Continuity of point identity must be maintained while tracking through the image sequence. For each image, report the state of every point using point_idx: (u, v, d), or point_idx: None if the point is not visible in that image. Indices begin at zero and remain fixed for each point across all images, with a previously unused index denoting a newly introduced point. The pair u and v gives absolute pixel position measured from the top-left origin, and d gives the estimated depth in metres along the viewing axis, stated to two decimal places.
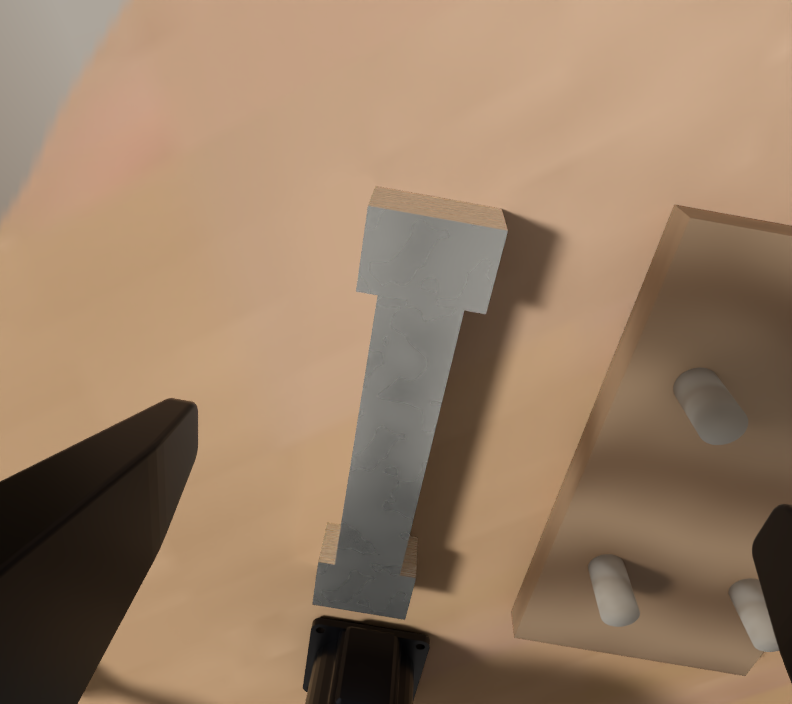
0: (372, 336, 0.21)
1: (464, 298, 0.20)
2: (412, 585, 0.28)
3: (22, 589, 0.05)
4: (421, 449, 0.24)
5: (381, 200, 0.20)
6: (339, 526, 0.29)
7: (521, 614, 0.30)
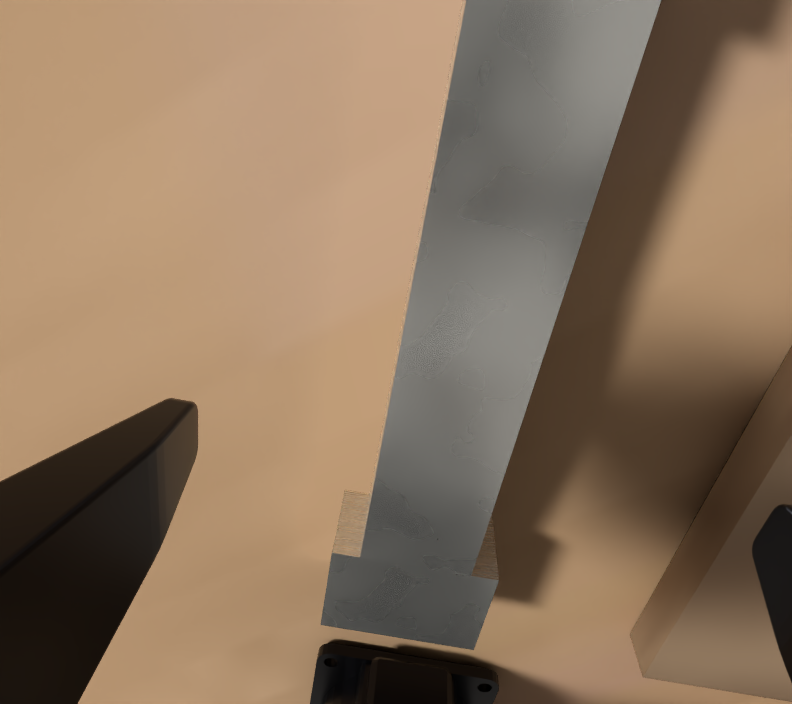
0: (457, 62, 0.10)
1: None
2: (491, 593, 0.16)
3: (22, 589, 0.05)
4: (534, 331, 0.12)
5: None
6: (364, 496, 0.18)
7: (658, 640, 0.18)
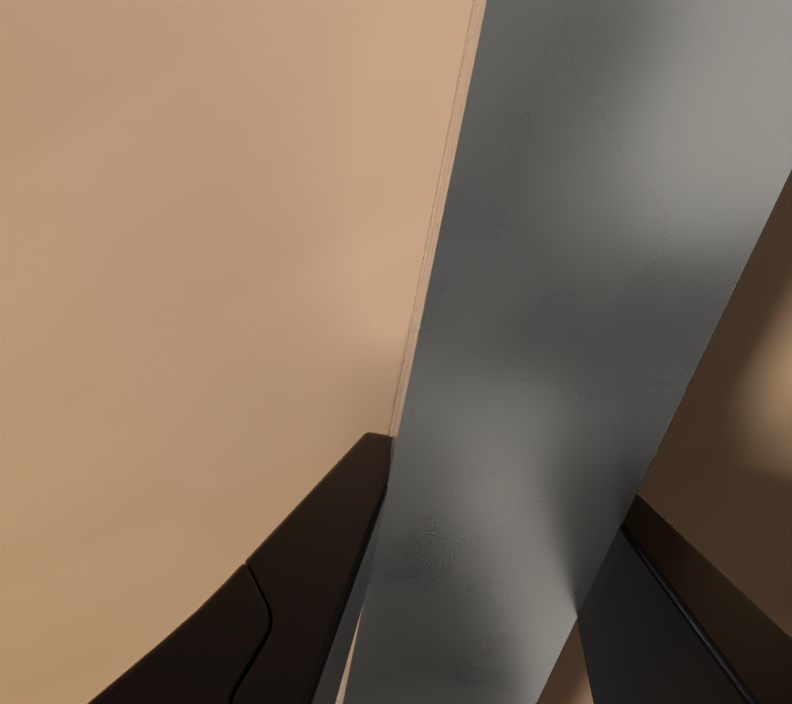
0: (468, 114, 0.05)
1: None
2: None
3: (338, 641, 0.06)
4: (589, 532, 0.08)
5: None
6: None
7: None
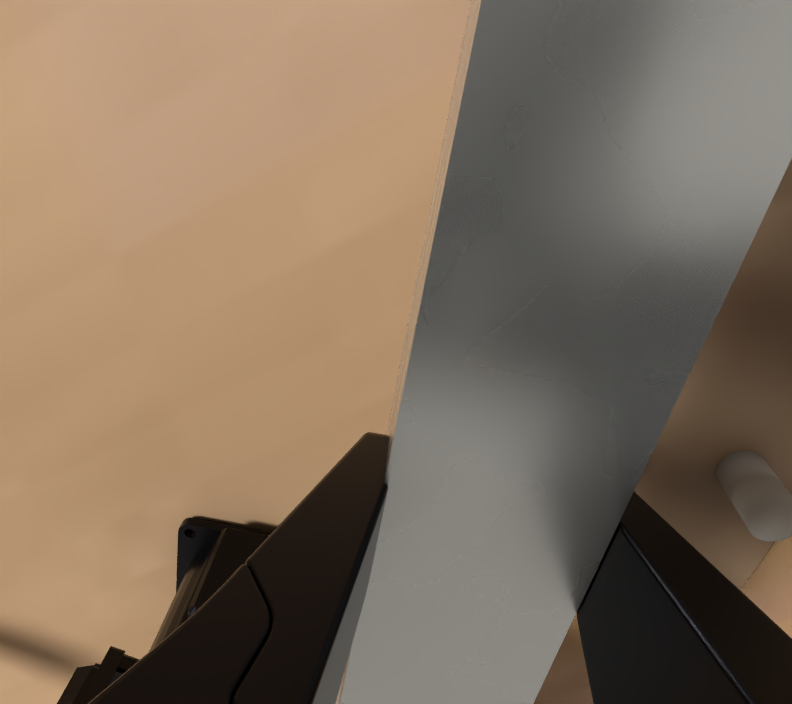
0: (465, 107, 0.05)
1: None
2: None
3: (339, 641, 0.06)
4: (587, 528, 0.08)
5: None
6: None
7: None
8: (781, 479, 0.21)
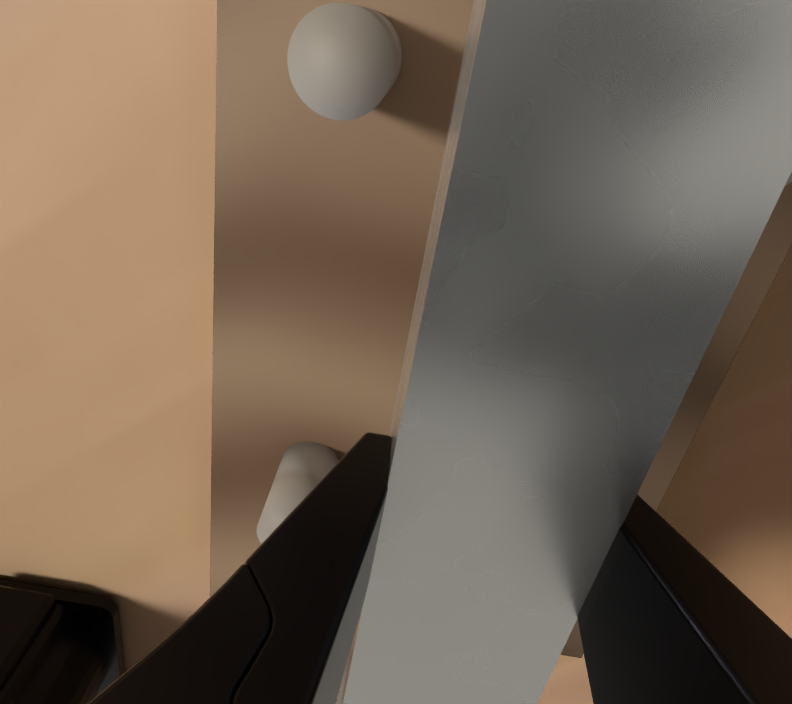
0: (471, 104, 0.05)
1: None
2: None
3: (338, 641, 0.06)
4: (592, 527, 0.08)
5: None
6: None
7: (213, 557, 0.18)
8: None
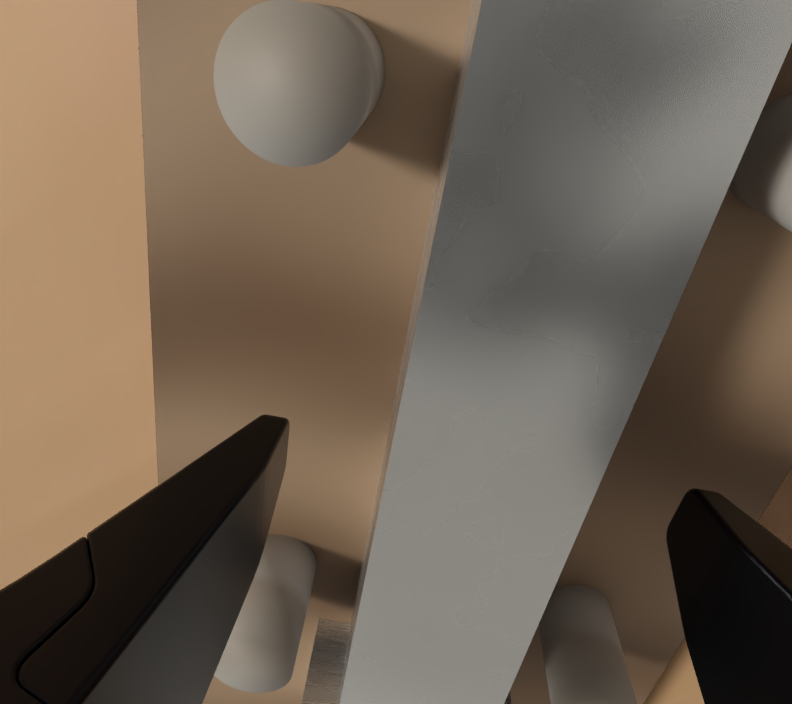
0: (467, 92, 0.06)
1: None
2: None
3: (172, 614, 0.05)
4: (576, 477, 0.08)
5: None
6: (343, 630, 0.14)
7: None
8: (636, 622, 0.13)
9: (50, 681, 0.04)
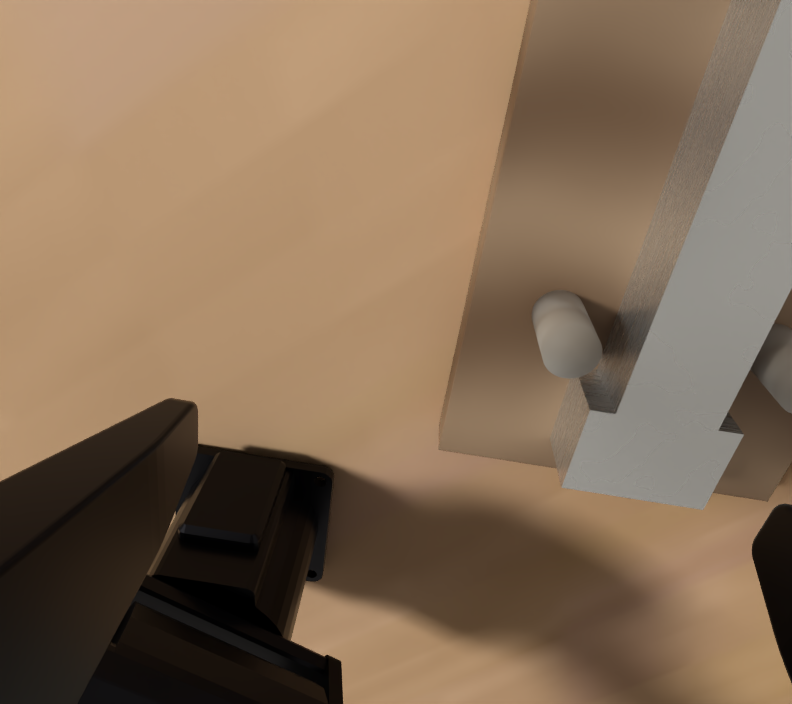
0: None
1: None
2: (734, 448, 0.18)
3: (22, 589, 0.05)
4: None
5: None
6: (594, 371, 0.19)
7: (446, 412, 0.21)
8: None
9: None
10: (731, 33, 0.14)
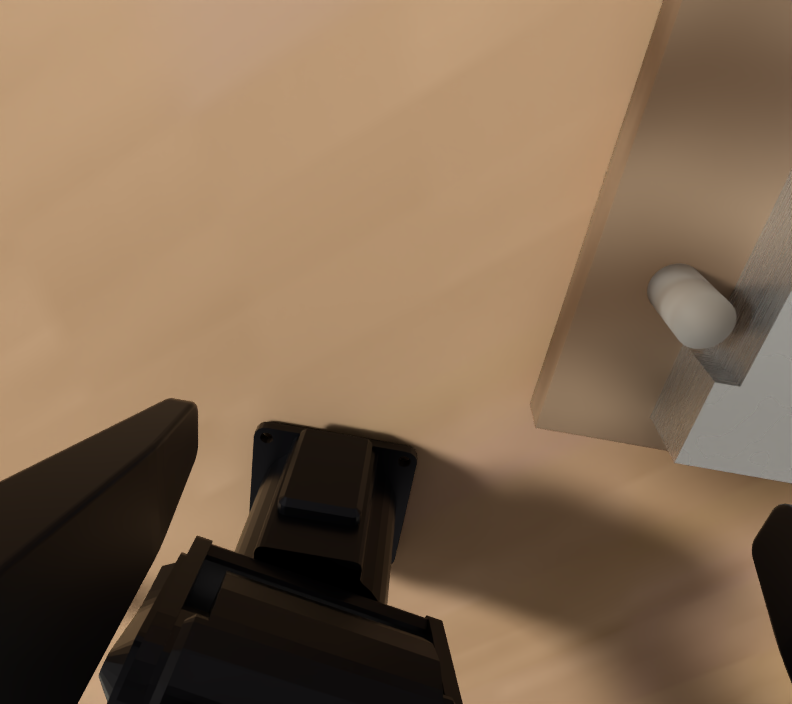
0: None
1: None
2: None
3: (21, 589, 0.05)
4: None
5: None
6: None
7: (546, 389, 0.21)
8: None
9: None
10: None
